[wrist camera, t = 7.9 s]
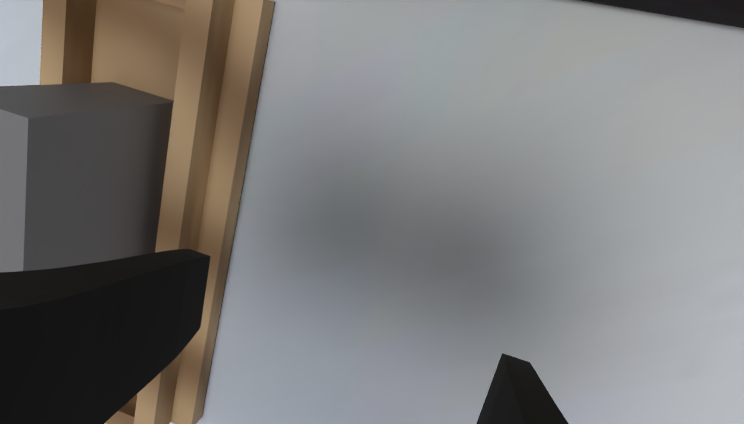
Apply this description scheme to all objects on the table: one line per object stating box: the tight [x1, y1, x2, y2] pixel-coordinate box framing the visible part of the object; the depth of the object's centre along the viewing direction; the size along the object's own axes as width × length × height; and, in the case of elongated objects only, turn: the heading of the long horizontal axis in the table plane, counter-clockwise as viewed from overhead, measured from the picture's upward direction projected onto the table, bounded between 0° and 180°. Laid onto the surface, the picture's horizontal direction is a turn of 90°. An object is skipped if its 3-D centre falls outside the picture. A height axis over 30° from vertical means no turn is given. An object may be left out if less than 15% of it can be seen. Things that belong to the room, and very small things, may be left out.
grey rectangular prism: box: [0, 82, 174, 272], centre depth 19 cm, size 3×10×7 cm, turn 165°
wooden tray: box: [40, 0, 275, 424], centre depth 22 cm, size 20×9×2 cm, turn 166°
